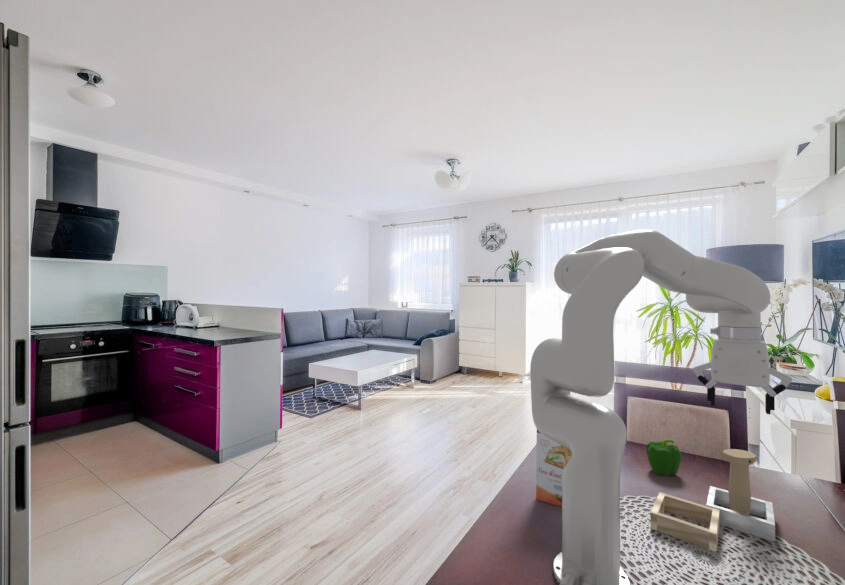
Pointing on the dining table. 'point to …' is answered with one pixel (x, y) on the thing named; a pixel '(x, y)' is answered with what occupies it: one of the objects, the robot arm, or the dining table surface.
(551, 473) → the cracker box
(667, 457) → the bell pepper
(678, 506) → the frame
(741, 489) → the handle
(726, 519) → the socket block
